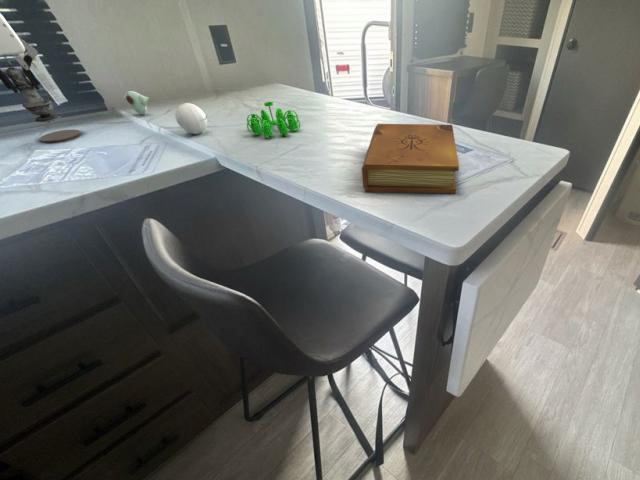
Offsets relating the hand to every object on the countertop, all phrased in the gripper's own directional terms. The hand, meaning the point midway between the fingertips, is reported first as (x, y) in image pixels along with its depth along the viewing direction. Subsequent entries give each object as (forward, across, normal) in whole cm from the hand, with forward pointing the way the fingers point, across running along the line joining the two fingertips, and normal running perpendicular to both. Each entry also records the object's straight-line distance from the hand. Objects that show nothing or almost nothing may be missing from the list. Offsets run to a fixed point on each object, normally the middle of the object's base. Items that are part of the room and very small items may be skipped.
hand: (26, 89), depth 79 cm
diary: (+12, -55, +83) cm, 100 cm away
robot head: (+12, -22, -6) cm, 25 cm away
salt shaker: (+7, 0, 0) cm, 7 cm away
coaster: (+11, 0, 0) cm, 11 cm away
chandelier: (+12, -45, +38) cm, 60 cm away
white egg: (+12, -30, +23) cm, 39 cm away
